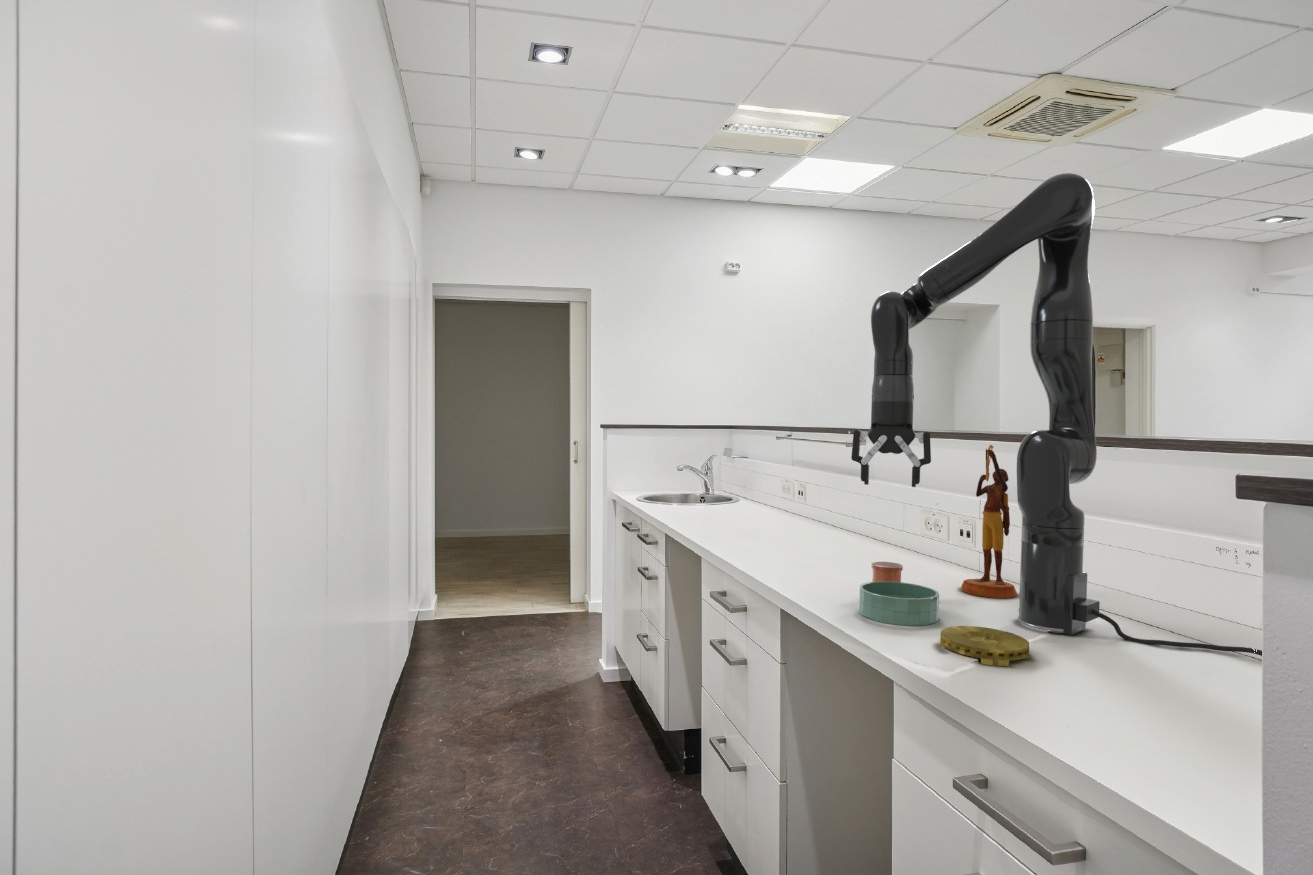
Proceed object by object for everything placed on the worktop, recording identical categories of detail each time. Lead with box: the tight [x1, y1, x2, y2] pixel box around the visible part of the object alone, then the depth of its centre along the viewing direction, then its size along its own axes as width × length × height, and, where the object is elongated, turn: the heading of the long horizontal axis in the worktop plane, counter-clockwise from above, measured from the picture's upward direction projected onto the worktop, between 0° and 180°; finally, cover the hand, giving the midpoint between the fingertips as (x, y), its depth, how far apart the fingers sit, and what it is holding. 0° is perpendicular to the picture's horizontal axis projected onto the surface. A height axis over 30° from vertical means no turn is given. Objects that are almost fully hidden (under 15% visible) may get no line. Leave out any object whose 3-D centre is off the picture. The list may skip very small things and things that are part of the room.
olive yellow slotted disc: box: [939, 625, 1030, 667], centre depth 107 cm, size 12×12×2 cm
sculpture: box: [960, 444, 1018, 599], centre depth 145 cm, size 10×10×30 cm
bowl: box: [858, 581, 940, 627], centre depth 124 cm, size 13×13×5 cm
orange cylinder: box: [870, 561, 904, 582], centre depth 136 cm, size 6×6×7 cm
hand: (889, 485), depth 136 cm, fingers open, 8 cm apart
